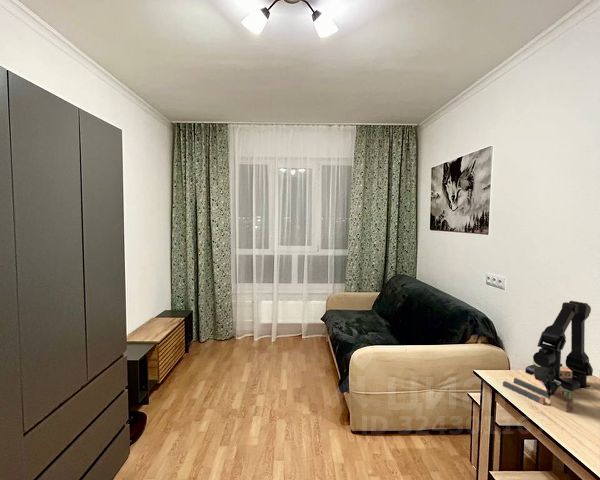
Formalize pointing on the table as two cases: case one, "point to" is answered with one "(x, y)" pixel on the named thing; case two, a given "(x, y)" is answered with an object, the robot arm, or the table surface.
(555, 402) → the walnut block
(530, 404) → the table surface
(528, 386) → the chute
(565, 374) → the stack of blocks
